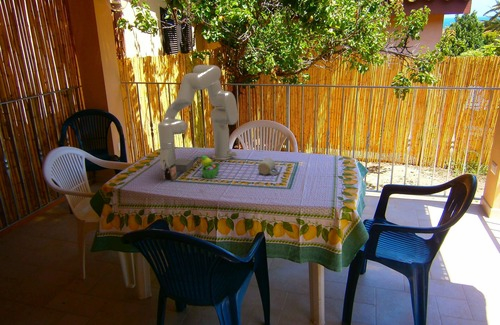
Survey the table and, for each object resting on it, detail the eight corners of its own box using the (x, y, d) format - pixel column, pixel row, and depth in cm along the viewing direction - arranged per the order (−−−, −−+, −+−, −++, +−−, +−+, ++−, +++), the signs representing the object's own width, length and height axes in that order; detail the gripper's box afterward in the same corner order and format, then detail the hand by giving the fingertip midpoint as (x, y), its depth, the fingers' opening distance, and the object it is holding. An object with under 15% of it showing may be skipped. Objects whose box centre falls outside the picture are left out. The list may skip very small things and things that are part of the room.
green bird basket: (215, 179, 201) (213, 159, 198) (199, 178, 203) (197, 158, 199) (220, 172, 212) (219, 152, 208) (205, 171, 214) (204, 152, 210)
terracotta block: (176, 176, 206) (175, 166, 204) (172, 180, 202) (171, 169, 200) (168, 176, 208) (167, 165, 206) (164, 179, 203) (163, 168, 201)
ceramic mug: (257, 174, 207) (257, 161, 204) (262, 169, 214) (262, 156, 211) (275, 177, 202) (275, 163, 200) (280, 172, 209) (280, 159, 207)
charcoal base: (193, 166, 223) (192, 159, 222) (186, 171, 214) (186, 165, 212) (177, 165, 225) (177, 158, 224) (170, 170, 216) (170, 164, 215)
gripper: (167, 140, 207) (170, 171, 213) (153, 149, 192) (156, 182, 198) (180, 141, 206) (183, 172, 211) (166, 150, 190) (170, 183, 196)
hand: (170, 177), depth 204 cm, fingers closed on terracotta block, 5 cm apart
